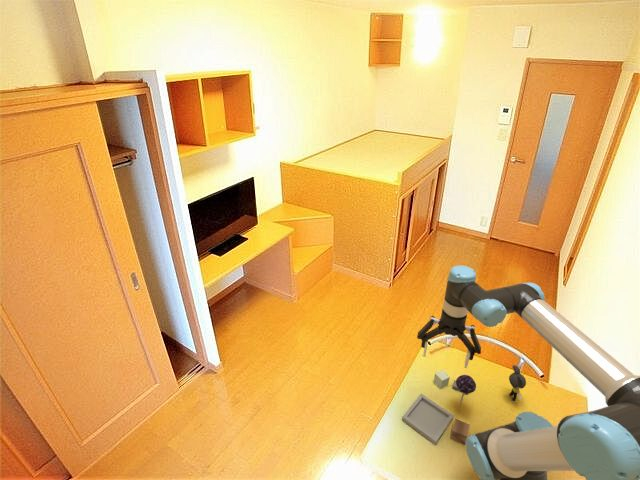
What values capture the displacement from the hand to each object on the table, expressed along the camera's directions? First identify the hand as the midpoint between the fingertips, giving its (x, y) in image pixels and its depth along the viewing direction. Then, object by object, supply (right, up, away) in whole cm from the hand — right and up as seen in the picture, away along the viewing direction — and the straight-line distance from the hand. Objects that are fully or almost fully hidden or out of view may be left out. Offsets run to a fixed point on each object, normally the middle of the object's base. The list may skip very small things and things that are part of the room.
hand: (444, 359), depth 121 cm
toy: (+31, -20, +15) cm, 40 cm away
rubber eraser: (+13, -18, +19) cm, 29 cm away
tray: (-4, -25, +7) cm, 26 cm away
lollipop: (+10, -22, +12) cm, 27 cm away
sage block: (+6, -17, +21) cm, 28 cm away
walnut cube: (+6, -28, +2) cm, 28 cm away
